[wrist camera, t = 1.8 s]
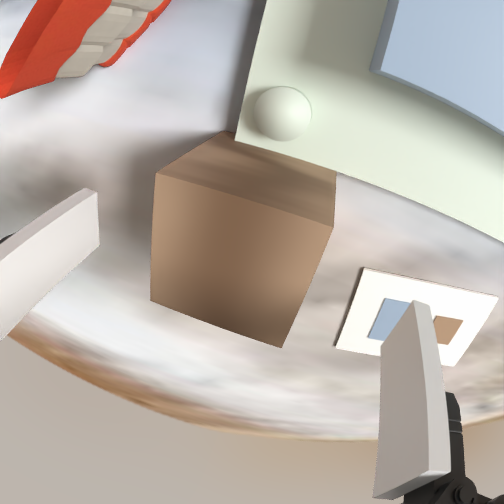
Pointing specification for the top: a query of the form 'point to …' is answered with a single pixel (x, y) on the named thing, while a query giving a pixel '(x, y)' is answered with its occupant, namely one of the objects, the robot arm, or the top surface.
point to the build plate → (365, 113)
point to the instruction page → (395, 304)
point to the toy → (73, 39)
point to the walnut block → (239, 235)
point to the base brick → (447, 53)
